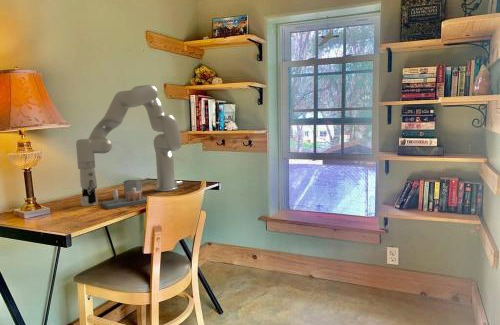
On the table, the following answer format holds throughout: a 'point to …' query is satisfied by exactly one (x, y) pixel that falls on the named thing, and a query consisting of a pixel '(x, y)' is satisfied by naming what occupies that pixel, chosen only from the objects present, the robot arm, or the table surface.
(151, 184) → the table surface
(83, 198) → the gear
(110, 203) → the gear board
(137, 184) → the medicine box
